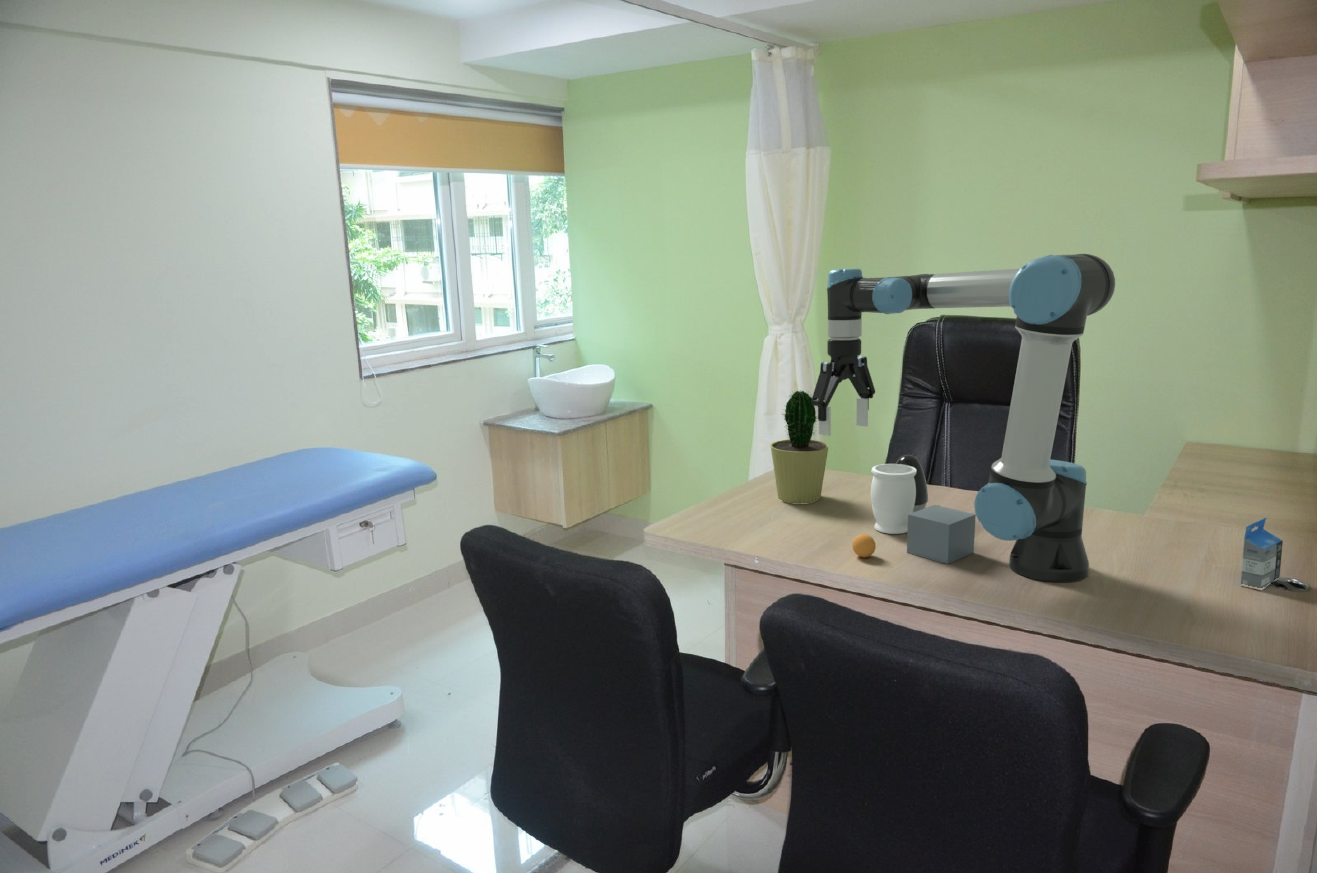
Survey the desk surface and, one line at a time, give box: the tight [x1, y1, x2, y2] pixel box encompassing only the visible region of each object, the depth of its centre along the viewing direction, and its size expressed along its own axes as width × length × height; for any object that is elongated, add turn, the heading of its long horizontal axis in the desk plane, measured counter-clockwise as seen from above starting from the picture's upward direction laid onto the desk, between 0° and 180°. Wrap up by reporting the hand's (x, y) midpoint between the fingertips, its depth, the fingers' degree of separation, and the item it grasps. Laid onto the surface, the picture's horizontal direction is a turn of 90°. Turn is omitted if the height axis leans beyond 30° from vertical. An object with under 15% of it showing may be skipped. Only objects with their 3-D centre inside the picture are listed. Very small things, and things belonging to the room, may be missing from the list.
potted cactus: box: [769, 389, 830, 504], centre depth 236 cm, size 15×15×30 cm
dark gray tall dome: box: [895, 453, 929, 512], centre depth 222 cm, size 10×10×15 cm
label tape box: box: [1240, 517, 1284, 588], centre depth 173 cm, size 9×4×12 cm, turn 126°
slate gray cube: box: [906, 504, 977, 565], centre depth 195 cm, size 10×10×9 cm
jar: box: [870, 463, 916, 535], centre depth 211 cm, size 11×10×15 cm
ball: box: [851, 534, 877, 558], centre depth 194 cm, size 5×5×5 cm
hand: (843, 430), depth 204 cm, fingers open, 13 cm apart
